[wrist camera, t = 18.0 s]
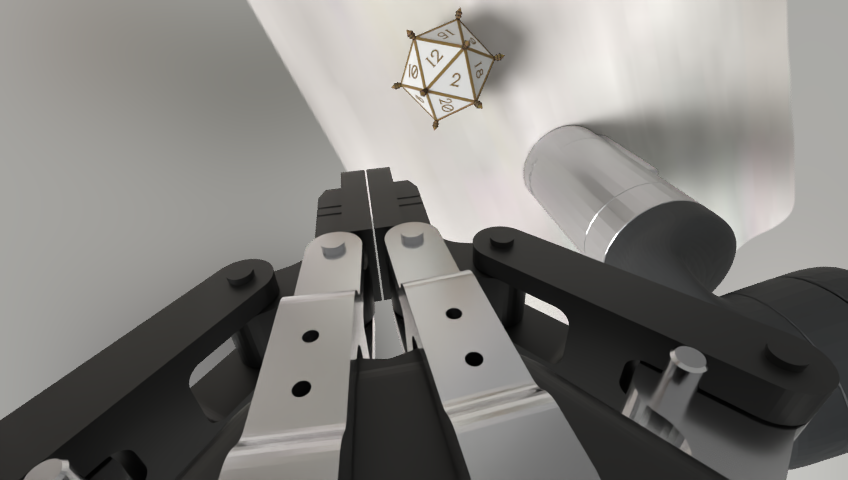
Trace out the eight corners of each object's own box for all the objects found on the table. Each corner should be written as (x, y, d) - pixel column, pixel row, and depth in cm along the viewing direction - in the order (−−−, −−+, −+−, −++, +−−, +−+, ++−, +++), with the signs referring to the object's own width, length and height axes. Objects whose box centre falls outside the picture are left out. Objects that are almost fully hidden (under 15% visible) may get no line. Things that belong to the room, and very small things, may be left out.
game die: (448, 62, 43) (510, 125, 39) (377, 95, 40) (436, 165, 37) (457, -28, 35) (536, 41, 31) (369, 7, 32) (444, 86, 29)
